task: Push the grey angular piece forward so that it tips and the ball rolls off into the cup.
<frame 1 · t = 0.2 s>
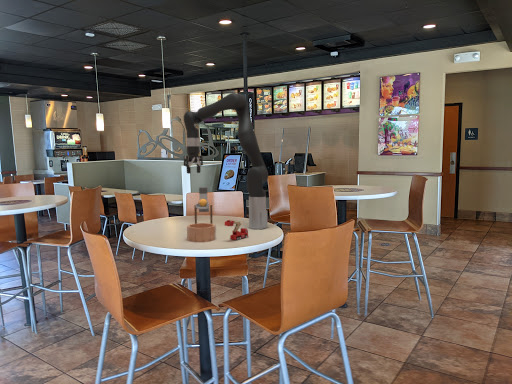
hand: (193, 173, 229), 29 cm above the table, tool pointing down, fingers open, 8 cm apart
toy fire truck: (237, 239, 182), on the table
grey angular piece: (203, 199, 195), point 17 cm above the table, hinge at -5.0°, touching ball
cup: (201, 238, 183), on the table
catapult stand: (203, 232, 198), on the table
ball: (202, 202, 194), point 16 cm above the table, tilted 12°, touching grey angular piece
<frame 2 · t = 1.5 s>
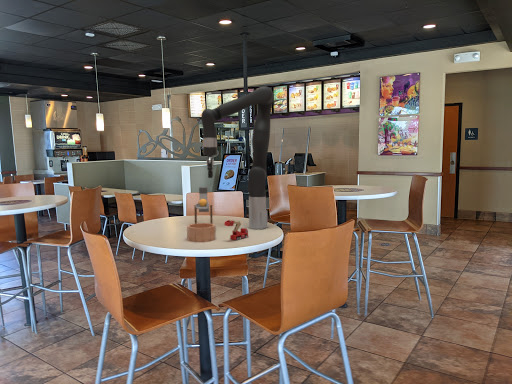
hand: (210, 177, 211), 27 cm above the table, tool pointing down, fingers open, 5 cm apart
nothing on the table moved.
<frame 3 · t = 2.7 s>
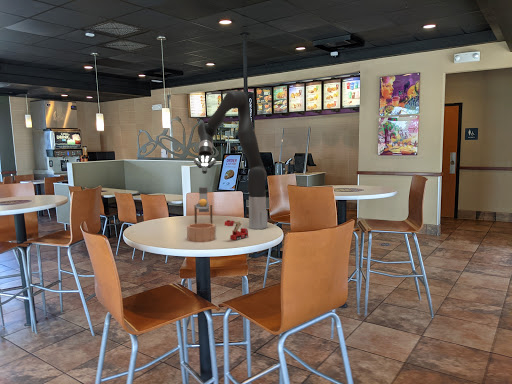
hand: (204, 172, 206), 30 cm above the table, tool tilted 45°, fingers closed
nothing on the table moved.
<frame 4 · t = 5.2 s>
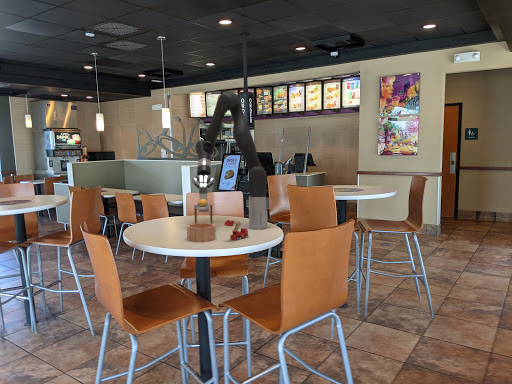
hand: (202, 193, 199), 20 cm above the table, tool tilted 45°, fingers closed
grey angular piece: (203, 199, 195), point 17 cm above the table, hinge at -2.9°, touching ball, gripper
everything else where it was.
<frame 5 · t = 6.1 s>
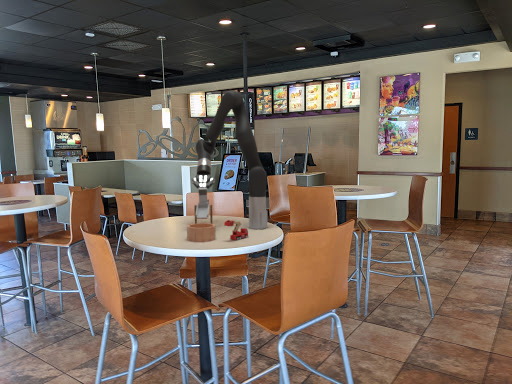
hand: (202, 193, 196), 20 cm above the table, tool tilted 45°, fingers closed
grey angular piece: (202, 202, 194), point 16 cm above the table, hinge at 21.6°, touching gripper
ball: (201, 234, 179), point 3 cm above the table, tilted 174°, touching cup
everything else where it was.
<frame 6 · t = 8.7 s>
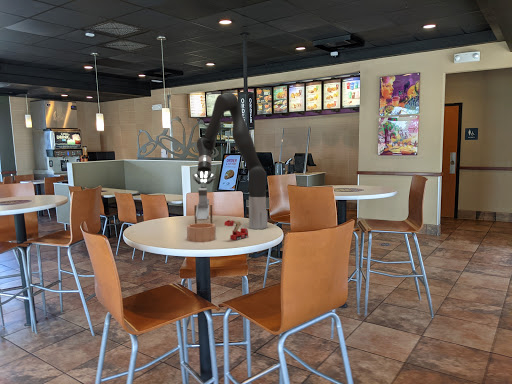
hand: (203, 189, 203), 22 cm above the table, tool tilted 45°, fingers closed
grey angular piece: (202, 202, 194), point 16 cm above the table, hinge at 25.7°
everything else where it was.
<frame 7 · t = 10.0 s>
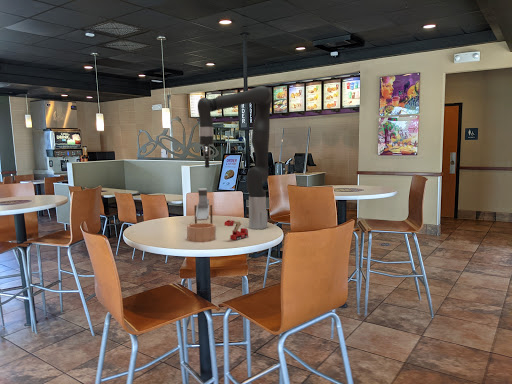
hand: (207, 167, 211), 33 cm above the table, tool pointing down, fingers closed
nothing on the table moved.
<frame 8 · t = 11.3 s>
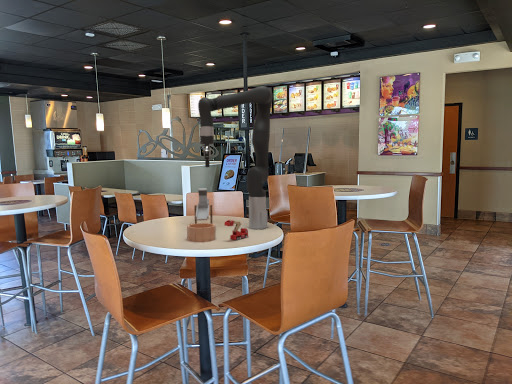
hand: (207, 167, 211), 33 cm above the table, tool pointing down, fingers closed
nothing on the table moved.
at the end: ball inside the target area on the cup (3.0 cm from its centre), point 2.8 cm above the cup's base; grey angular piece at +26° (first picture: -5°) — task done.
